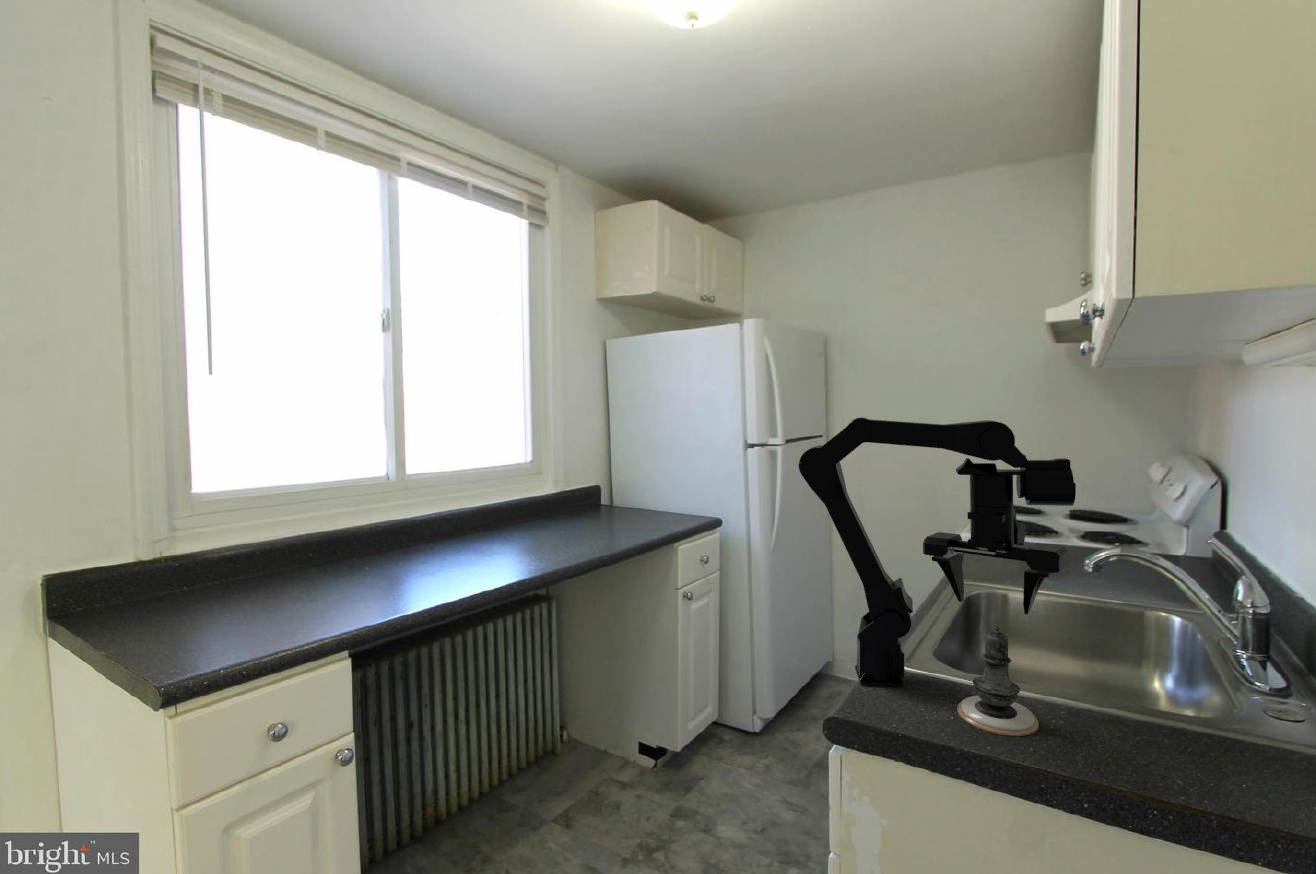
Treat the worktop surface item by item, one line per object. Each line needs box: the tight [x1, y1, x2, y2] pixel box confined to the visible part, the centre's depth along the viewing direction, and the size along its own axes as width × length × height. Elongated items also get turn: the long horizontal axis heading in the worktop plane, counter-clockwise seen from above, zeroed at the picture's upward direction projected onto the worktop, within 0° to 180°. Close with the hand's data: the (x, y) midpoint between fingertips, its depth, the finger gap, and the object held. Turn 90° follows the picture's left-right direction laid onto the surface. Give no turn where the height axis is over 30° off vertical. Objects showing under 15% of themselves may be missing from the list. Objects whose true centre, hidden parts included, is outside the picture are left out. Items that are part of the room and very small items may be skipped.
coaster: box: [956, 695, 1040, 737], centre depth 88 cm, size 10×10×1 cm
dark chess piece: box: [972, 625, 1021, 719], centre depth 88 cm, size 6×6×12 cm
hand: (992, 607), depth 95 cm, fingers open, 9 cm apart
